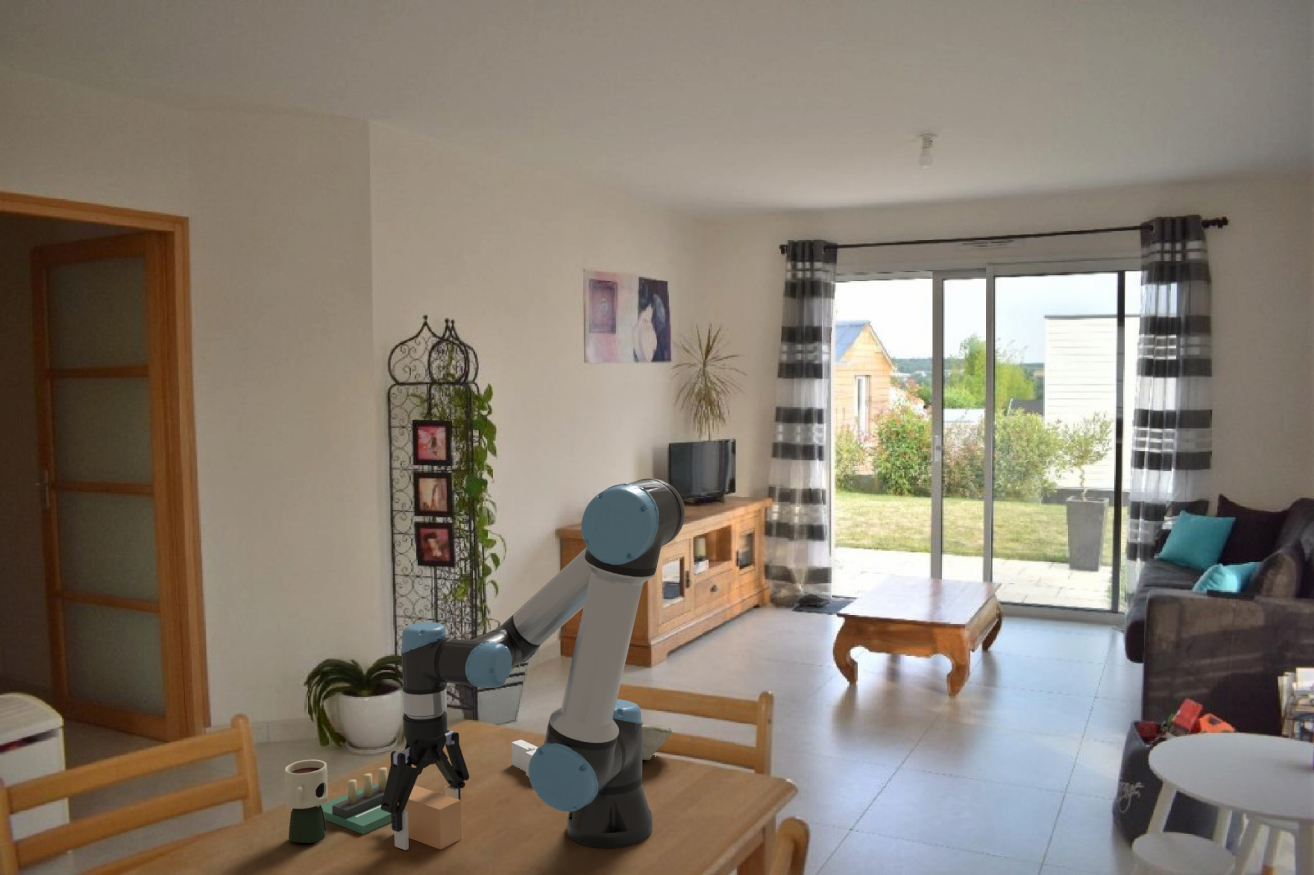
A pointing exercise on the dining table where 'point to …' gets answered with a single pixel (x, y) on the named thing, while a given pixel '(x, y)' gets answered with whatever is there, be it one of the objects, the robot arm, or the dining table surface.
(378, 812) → the board
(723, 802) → the dining table surface
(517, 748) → the napkin holder
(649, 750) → the bowl
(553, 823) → the dining table surface
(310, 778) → the character mug
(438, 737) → the robot arm
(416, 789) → the block
